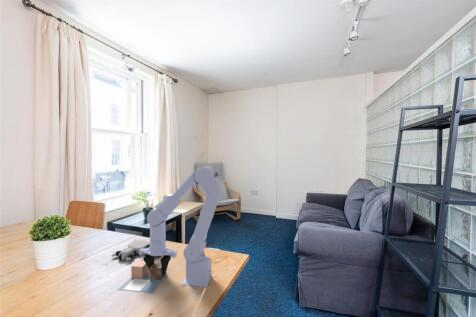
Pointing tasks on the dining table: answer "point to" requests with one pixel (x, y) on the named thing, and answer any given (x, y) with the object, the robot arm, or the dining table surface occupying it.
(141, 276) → the terracotta block
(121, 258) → the robot toy
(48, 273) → the dining table surface
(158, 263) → the walnut block
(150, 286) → the plate
